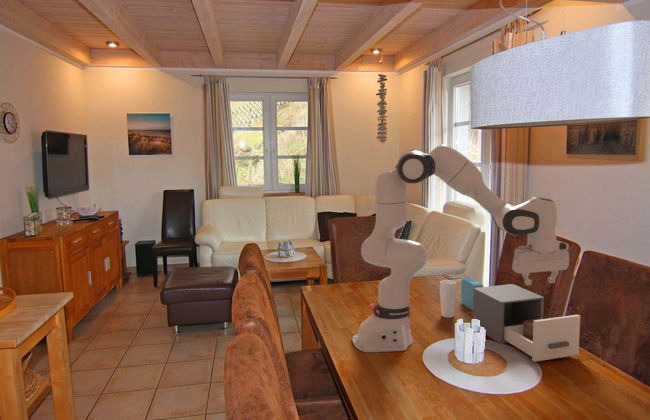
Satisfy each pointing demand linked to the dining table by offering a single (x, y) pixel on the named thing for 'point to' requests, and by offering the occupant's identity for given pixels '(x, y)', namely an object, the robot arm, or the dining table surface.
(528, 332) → the walnut block
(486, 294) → the cabinet
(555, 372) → the dining table surface
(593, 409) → the dining table surface
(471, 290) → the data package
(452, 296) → the drinking glass
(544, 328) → the drawer
